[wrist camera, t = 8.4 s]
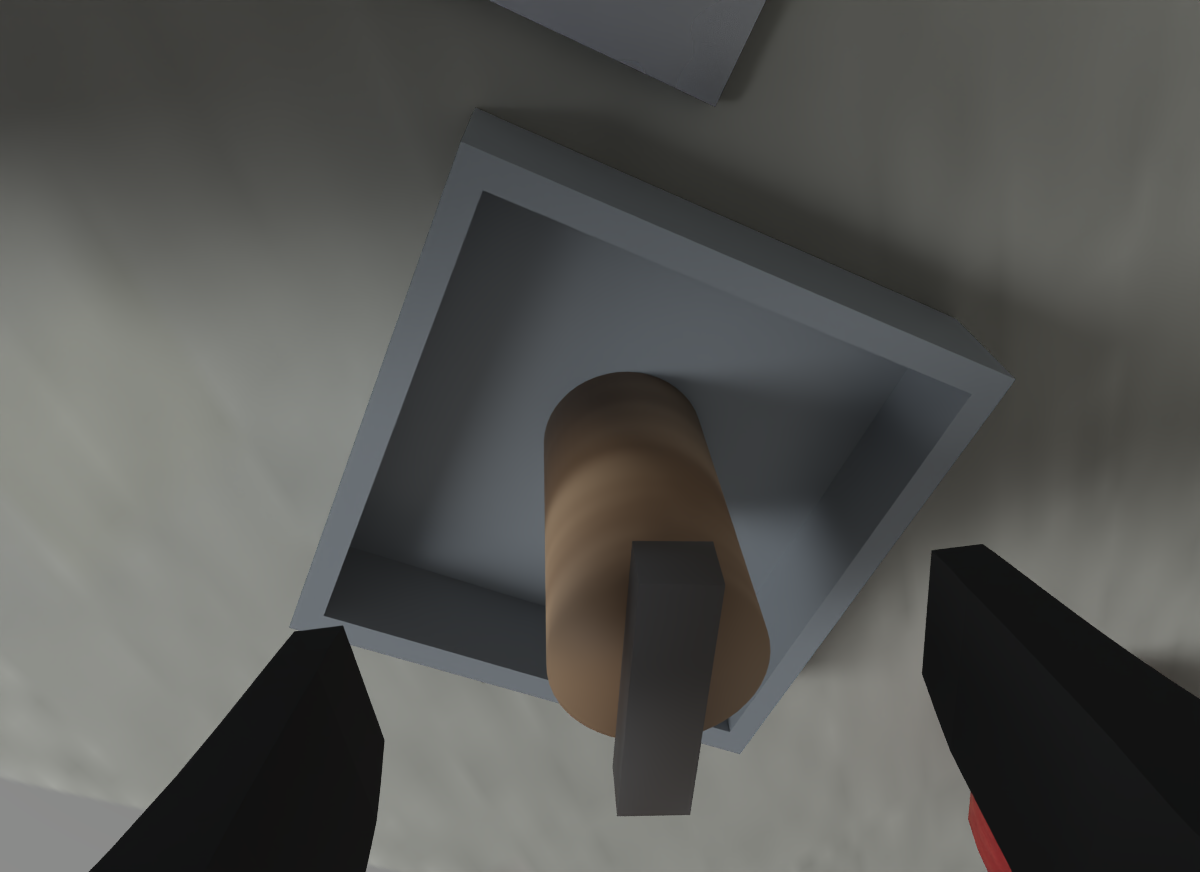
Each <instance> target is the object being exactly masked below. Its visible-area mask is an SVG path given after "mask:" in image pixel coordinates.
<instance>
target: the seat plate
mask: <svg viewBox="0 0 1200 872" xmlns="http://www.w3.org/2000/svg"><path fill="white" fill-rule="evenodd" d="M489 1H492V2H494V3H496V4H498V5H500V6H502V7H504V8H506V9H509V10H511V11H513V12H515V13H517V14H519V15H521V16H523V17H525V18H528V19H530V20H532V21H534V22H536V23H538V24H540V25H542V26H545V27H547V28H549V29H551V30H553V31H555V32H557V33H559V34H562V35H564V36H566V37H568V38H570V39H572V40H574V41H576V42H579V43H581V44H583V45H585V46H587V47H589V48H591V49H593V50H596V51H598V52H600V53H602V54H604V55H606V56H608V57H610V58H613V59H615V60H617V61H619V62H621V63H623V64H625V65H627V66H630V67H632V68H634V69H636V70H638V71H640V72H642V73H644V74H647V75H649V76H651V77H653V78H655V79H657V80H659V81H661V82H664V83H666V84H668V85H670V86H672V87H674V88H676V89H678V90H680V91H683V92H685V93H687V94H689V95H691V96H693V97H695V98H697V99H700V100H702V101H704V102H706V103H708V104H710V105H712V106H714V107H715V106H716V104H717V102H718V100H719V98H720V95H721V93H722V91H723V89H724V87H725V85H726V83H727V81H728V79H729V77H730V75H731V72H732V70H733V68H734V66H735V64H736V62H737V60H738V58H739V56H740V54H741V52H742V49H743V47H744V45H745V43H746V41H747V39H748V37H749V35H750V33H751V31H752V28H753V26H754V24H755V22H756V20H757V18H758V16H759V14H760V12H761V10H762V8H763V5H764V3H765V1H766V0H489Z"/></svg>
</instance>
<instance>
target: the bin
mask: <svg viewBox="0 0 1200 872" xmlns="http://www.w3.org/2000/svg"><path fill="white" fill-rule="evenodd" d="M616 372H637V373H643V374H648V375H651V376H654V377H657V378H660V379H662V380H664V381H666V382H668V383H670V384H671V385H673V386H674V387H676V388H677V389H678V390H679V391H680V392H681V393H683V394H684V395H685V397H686V398H687V399H688V400H689V401H690V403H691V404H692V406H693V408H694V409H695V411H696V414H697V416H698V419H699V422H700V425H701V428H702V431H703V434H704V437H705V440H706V443H707V446H708V449H709V452H710V455H711V459H712V462H713V465H714V468H715V471H716V474H717V477H718V480H719V483H720V486H721V489H722V492H723V495H724V498H725V502H726V505H727V508H728V511H729V514H730V517H731V520H732V523H733V526H734V529H735V532H736V535H737V538H738V542H739V545H740V548H741V551H742V554H743V557H744V560H745V563H746V566H747V569H748V572H749V575H750V578H751V582H752V585H753V588H754V591H755V594H756V597H757V600H758V603H759V606H760V609H761V612H762V615H763V618H764V621H765V625H766V628H767V631H768V635H769V639H770V650H771V652H770V661H769V665H768V669H767V673H766V675H765V677H764V679H763V681H762V684H761V685H760V687H759V688H758V690H757V691H756V693H755V694H754V695H753V696H752V698H751V699H750V700H749V701H748V702H747V703H746V704H745V705H744V706H743V707H742V708H741V709H740V710H739V711H738V712H736V713H735V714H733V715H732V716H731V717H729V718H728V719H726V720H725V721H723V722H721V723H719V724H718V725H716V726H714V727H711V728H709V729H707V730H705V731H703V734H702V740H701V743H702V744H706V745H709V746H713V747H716V748H720V749H724V750H727V751H731V752H734V753H738V754H740V753H741V752H742V751H743V749H744V748H745V746H746V745H747V744H748V742H749V741H750V740H751V738H752V737H753V736H754V734H755V733H756V732H757V730H758V729H759V727H760V726H761V725H762V723H763V722H764V721H765V719H766V718H767V717H768V715H769V714H770V712H771V711H772V710H773V708H774V707H775V706H776V704H777V703H778V702H779V700H780V699H781V698H782V696H783V695H784V693H785V692H786V691H787V689H788V688H789V687H790V685H791V684H792V683H793V681H794V680H795V679H796V677H797V676H798V674H799V673H800V672H801V670H802V669H803V668H804V666H805V665H806V664H807V662H808V661H809V659H810V658H811V657H812V655H813V654H814V653H815V651H816V650H817V649H818V647H819V646H820V645H821V643H822V642H823V640H824V639H825V638H826V636H827V635H828V634H829V632H830V631H831V630H832V628H833V627H834V626H835V624H836V623H837V621H838V620H839V619H840V617H841V616H842V615H843V613H844V612H845V611H846V609H847V608H848V607H849V605H850V604H851V602H852V601H853V600H854V598H855V597H856V596H857V594H858V593H859V592H860V590H861V589H862V587H863V586H864V585H865V583H866V582H867V581H868V579H869V578H870V577H871V575H872V574H873V573H874V571H875V570H876V568H877V567H878V566H879V564H880V563H881V562H882V560H883V559H884V558H885V556H886V555H887V554H888V552H889V551H890V549H891V548H892V547H893V545H894V544H895V543H896V541H897V540H898V539H899V537H900V536H901V535H902V533H903V532H904V530H905V529H906V528H907V526H908V525H909V524H910V522H911V521H912V520H913V518H914V517H915V515H916V514H917V513H918V511H919V510H920V509H921V507H922V506H923V505H924V503H925V502H926V501H927V499H928V498H929V496H930V495H931V494H932V492H933V491H934V490H935V488H936V487H937V486H938V484H939V483H940V482H941V480H942V479H943V477H944V476H945V475H946V473H947V472H948V471H949V469H950V468H951V467H952V465H953V464H954V462H955V461H956V460H957V458H958V457H959V456H960V454H961V453H962V452H963V450H964V449H965V448H966V446H967V445H968V443H969V442H970V441H971V439H972V438H973V437H974V435H975V434H976V433H977V431H978V430H979V429H980V427H981V426H982V424H983V423H984V422H985V420H986V419H987V418H988V416H989V415H990V414H991V412H992V411H993V410H994V408H995V407H996V405H997V404H998V403H999V401H1000V400H1001V399H1002V397H1003V396H1004V395H1005V393H1006V392H1007V390H1008V389H1009V388H1010V386H1011V385H1012V384H1013V382H1014V381H1015V380H1016V379H1015V378H1014V377H1013V376H1012V375H1011V374H1010V373H1009V372H1008V371H1007V370H1006V369H1005V368H1004V367H1003V366H1002V365H1001V364H1000V363H999V362H998V361H997V360H996V359H995V358H994V357H993V356H992V355H991V354H990V353H989V352H988V351H987V350H986V349H985V348H984V347H983V346H982V345H981V344H980V343H979V342H978V341H977V340H976V339H975V338H974V337H973V336H972V335H971V334H970V333H969V332H968V331H967V330H966V329H965V328H964V327H963V326H962V324H961V323H960V322H959V321H958V320H957V319H955V318H953V317H951V316H949V315H946V314H944V313H942V312H940V311H937V310H935V309H933V308H930V307H928V306H926V305H924V304H921V303H919V302H917V301H915V300H912V299H910V298H908V297H905V296H903V295H901V294H899V293H896V292H894V291H892V290H889V289H887V288H885V287H883V286H880V285H878V284H876V283H874V282H871V281H869V280H867V279H864V278H862V277H860V276H858V275H855V274H853V273H851V272H849V271H846V270H844V269H842V268H839V267H837V266H835V265H833V264H830V263H828V262H826V261H823V260H821V259H819V258H817V257H814V256H812V255H810V254H808V253H805V252H803V251H801V250H798V249H796V248H794V247H792V246H789V245H787V244H785V243H783V242H780V241H778V240H776V239H773V238H771V237H769V236H767V235H764V234H762V233H760V232H757V231H755V230H753V229H751V228H748V227H746V226H744V225H742V224H739V223H737V222H735V221H732V220H730V219H728V218H726V217H723V216H721V215H719V214H717V213H714V212H712V211H710V210H707V209H705V208H703V207H701V206H698V205H696V204H694V203H692V202H689V201H687V200H685V199H682V198H680V197H678V196H676V195H673V194H671V193H669V192H666V191H664V190H662V189H660V188H657V187H655V186H653V185H651V184H648V183H646V182H644V181H641V180H639V179H637V178H635V177H632V176H630V175H628V174H626V173H623V172H621V171H619V170H616V169H614V168H612V167H610V166H607V165H605V164H603V163H600V162H598V161H596V160H594V159H591V158H589V157H587V156H585V155H582V154H580V153H578V152H575V151H573V150H571V149H569V148H566V147H564V146H562V145H560V144H557V143H555V142H553V141H550V140H548V139H546V138H544V137H541V136H539V135H537V134H534V133H532V132H530V131H528V130H525V129H523V128H521V127H519V126H516V125H514V124H512V123H509V122H507V121H505V120H503V119H500V118H498V117H496V116H494V115H491V114H489V113H487V112H484V111H482V110H480V109H478V108H475V109H474V111H473V114H472V116H471V118H470V121H469V123H468V125H467V128H466V130H465V133H464V135H463V137H462V140H461V142H460V145H459V148H458V150H457V153H456V156H455V159H454V162H453V165H452V167H451V170H450V173H449V176H448V179H447V182H446V184H445V187H444V190H443V193H442V196H441V199H440V201H439V204H438V207H437V210H436V213H435V216H434V218H433V221H432V224H431V227H430V230H429V233H428V235H427V238H426V241H425V244H424V247H423V250H422V252H421V255H420V258H419V261H418V264H417V267H416V269H415V272H414V275H413V278H412V281H411V284H410V286H409V289H408V292H407V295H406V298H405V301H404V303H403V306H402V309H401V312H400V315H399V318H398V320H397V323H396V326H395V329H394V332H393V335H392V337H391V340H390V343H389V346H388V349H387V352H386V354H385V357H384V360H383V363H382V366H381V369H380V371H379V374H378V377H377V380H376V383H375V386H374V388H373V391H372V394H371V397H370V400H369V403H368V405H367V408H366V411H365V414H364V417H363V420H362V422H361V425H360V428H359V431H358V434H357V437H356V439H355V442H354V445H353V448H352V451H351V454H350V456H349V459H348V462H347V465H346V468H345V471H344V473H343V476H342V479H341V482H340V485H339V488H338V490H337V493H336V496H335V499H334V502H333V505H332V507H331V510H330V513H329V516H328V519H327V522H326V524H325V527H324V530H323V533H322V536H321V539H320V541H319V544H318V547H317V550H316V553H315V556H314V558H313V561H312V564H311V567H310V570H309V573H308V575H307V578H306V581H305V584H304V587H303V589H302V592H301V595H300V598H299V601H298V604H297V606H296V609H295V612H294V615H293V618H292V621H291V623H290V626H289V628H293V629H296V630H300V631H303V630H311V629H318V628H326V627H334V626H342V625H343V626H344V629H345V632H346V635H347V638H348V640H349V643H350V645H353V646H357V647H360V648H364V649H367V650H371V651H375V652H378V653H382V654H385V655H389V656H392V657H396V658H399V659H403V660H407V661H410V662H414V663H417V664H421V665H424V666H428V667H432V668H435V669H439V670H442V671H446V672H449V673H453V674H456V675H460V676H464V677H467V678H471V679H474V680H478V681H481V682H485V683H488V684H492V685H496V686H499V687H503V688H506V689H510V690H513V691H517V692H521V693H524V694H528V695H531V696H535V697H538V698H542V699H545V700H549V701H553V702H556V703H559V702H558V700H557V699H556V697H555V696H554V694H553V692H552V689H551V687H550V685H549V680H548V676H547V665H546V589H545V503H544V435H545V430H546V426H547V423H548V420H549V418H550V416H551V414H552V412H553V411H554V409H555V407H556V406H557V405H558V403H559V402H560V401H561V400H562V399H563V398H564V397H565V396H566V395H567V394H568V393H569V392H570V391H571V390H573V389H574V388H576V387H577V386H578V385H580V384H582V383H584V382H586V381H588V380H590V379H592V378H595V377H598V376H601V375H605V374H609V373H616Z"/></svg>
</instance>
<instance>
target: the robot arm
mask: <svg viewBox="0 0 1200 872" xmlns="http://www.w3.org/2000/svg"><path fill="white" fill-rule="evenodd" d="M922 675H923V678H924V681H925V683H926V686H927V689H928V692H929V695H930V697H931V700H932V703H933V706H934V709H935V712H936V714H937V717H938V720H939V722H940V725H941V728H942V730H943V733H944V735H945V738H946V741H947V743H948V746H949V749H950V751H951V753H952V755H953V757H954V759H955V761H956V763H957V765H958V767H959V769H960V771H961V773H962V775H963V777H964V779H965V781H966V783H967V785H968V787H969V789H970V791H971V793H972V795H973V797H974V799H975V801H976V803H977V805H978V807H979V809H980V811H981V813H982V815H983V817H984V818H985V820H986V822H987V824H988V826H989V828H990V830H991V832H992V834H993V836H994V838H995V840H996V842H997V844H998V846H999V848H1000V849H1001V851H1002V853H1003V855H1004V857H1005V859H1006V861H1007V863H1008V865H1009V867H1010V869H1011V871H1012V872H1200V699H1199V698H1197V697H1196V696H1194V695H1193V694H1191V693H1189V692H1188V691H1186V690H1185V689H1183V688H1182V687H1180V686H1179V685H1177V684H1175V683H1174V682H1172V681H1171V680H1170V679H1168V678H1167V677H1165V676H1164V675H1162V674H1161V673H1159V672H1158V671H1156V670H1155V669H1153V668H1152V667H1150V666H1149V665H1147V664H1146V663H1144V662H1143V661H1141V660H1140V659H1139V658H1137V657H1136V656H1134V655H1133V654H1131V653H1130V652H1128V651H1127V650H1126V649H1124V648H1123V647H1121V646H1120V645H1119V644H1117V643H1116V642H1114V641H1113V640H1112V639H1110V638H1109V637H1107V636H1106V635H1105V634H1103V633H1102V632H1100V631H1099V630H1098V629H1096V628H1095V627H1093V626H1092V625H1091V624H1089V623H1088V622H1087V621H1085V620H1084V619H1082V618H1081V617H1080V616H1078V615H1077V614H1076V613H1074V612H1073V611H1072V610H1070V609H1069V608H1068V607H1066V606H1065V605H1064V604H1062V603H1061V602H1060V601H1058V600H1057V599H1056V598H1054V597H1053V596H1051V595H1050V594H1049V593H1047V592H1046V591H1045V590H1043V589H1042V588H1041V587H1039V586H1038V585H1037V584H1036V583H1034V582H1033V581H1032V580H1030V579H1029V578H1028V577H1026V576H1025V575H1024V574H1022V573H1021V572H1020V571H1018V570H1017V569H1016V568H1014V567H1013V566H1012V565H1010V564H1009V563H1008V562H1006V561H1005V560H1004V559H1002V558H1001V557H1000V556H998V555H997V554H996V553H994V552H993V551H992V550H990V549H989V548H987V547H986V546H985V545H983V544H979V545H971V546H963V547H955V548H947V549H939V550H932V553H931V566H930V578H929V591H928V604H927V617H926V630H925V642H924V655H923V668H922ZM383 751H384V738H383V735H382V732H381V729H380V726H379V724H378V721H377V718H376V715H375V713H374V710H373V707H372V704H371V701H370V699H369V696H368V693H367V690H366V688H365V685H364V682H363V679H362V676H361V674H360V671H359V668H358V665H357V663H356V660H355V657H354V654H353V651H352V649H351V646H350V643H349V640H348V638H347V635H346V632H345V629H344V626H343V625H342V626H334V627H326V628H318V629H311V630H303V631H295V632H294V633H293V634H292V635H291V636H290V638H289V639H288V640H287V641H286V642H285V644H284V645H283V646H282V647H281V648H280V650H279V651H278V652H277V653H276V655H275V656H274V657H273V658H272V660H271V661H270V662H269V663H268V664H267V666H266V667H265V668H264V669H263V671H262V672H261V673H260V674H259V676H258V677H257V678H256V679H255V681H254V682H253V683H252V684H251V686H250V687H249V688H248V689H247V691H246V692H245V693H244V694H243V696H242V697H241V698H240V699H239V701H238V702H237V703H236V704H235V706H234V707H233V708H232V709H231V711H230V712H229V713H228V714H227V716H226V717H225V718H224V719H223V721H222V722H221V723H220V724H219V725H218V727H217V728H216V729H215V730H214V731H213V733H212V734H211V735H210V736H209V738H208V739H207V740H206V741H205V742H204V744H203V745H202V746H201V747H200V748H199V750H198V751H197V752H196V753H195V754H194V756H193V757H192V758H191V759H190V760H189V762H188V763H187V764H186V765H185V766H184V768H183V769H182V770H181V771H180V772H179V774H178V775H177V776H176V777H175V778H174V779H173V780H172V782H171V783H170V784H169V785H168V786H167V787H166V788H165V789H164V791H163V792H162V793H161V794H160V795H159V796H158V797H157V798H156V799H155V801H154V802H153V803H152V804H151V805H150V806H149V807H148V808H147V809H146V811H145V812H144V813H143V814H142V815H141V816H140V817H139V818H138V819H137V821H136V822H135V823H134V824H133V825H132V826H131V827H130V828H129V830H128V831H127V832H126V833H125V834H124V835H123V836H122V837H121V838H120V839H119V841H118V842H117V843H116V844H115V845H114V846H113V847H112V848H111V849H110V851H108V852H107V854H106V855H105V856H104V857H103V858H102V859H101V860H100V861H99V862H98V863H97V864H96V865H95V866H94V867H93V868H92V869H91V870H90V871H89V872H366V868H367V863H368V859H369V854H370V849H371V845H372V840H373V836H374V831H375V826H376V821H377V813H378V804H379V795H380V786H381V774H382V763H383Z"/></svg>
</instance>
